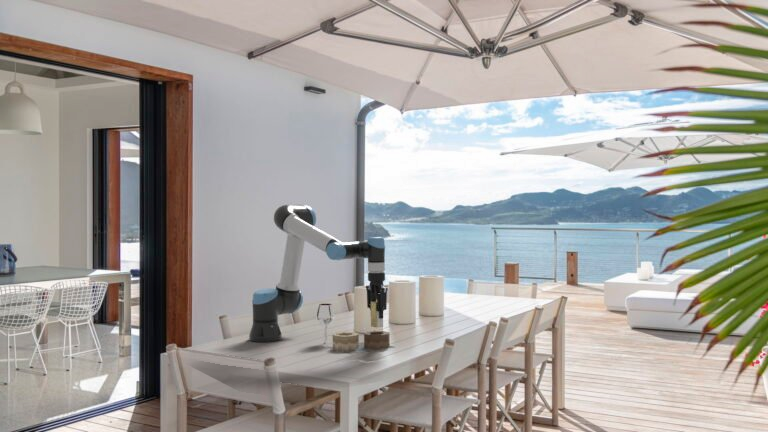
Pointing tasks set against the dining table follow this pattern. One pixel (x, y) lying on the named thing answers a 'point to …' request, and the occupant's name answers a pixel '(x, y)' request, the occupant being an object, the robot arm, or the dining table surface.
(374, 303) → the yellow peg
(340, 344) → the beech bead
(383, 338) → the walnut bead
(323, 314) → the wineglass
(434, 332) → the dining table surface
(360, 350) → the mat
